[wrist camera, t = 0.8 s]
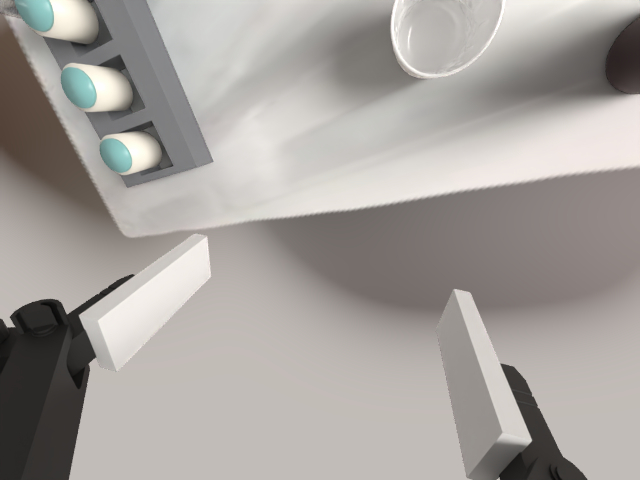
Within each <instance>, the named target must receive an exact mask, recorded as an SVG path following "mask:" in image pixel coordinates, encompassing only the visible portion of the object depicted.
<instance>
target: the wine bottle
mask: <svg viewBox="0 0 640 480" xmlns="http://www.w3.org/2000/svg"><path fill="white" fill-rule="evenodd" d="M606 75H607V78H608V80H609V82H610V83H611V85H612V86H614V87H615V88H616V89H618V90H620V91H623V92H625V93H630V94H640V17H639V18H638V19H636V20H635V21H634V22H633V23H631V24H630V25H629V26H628V27H627V28H626V29H625V30H624V31H623V32H622V33H621V34H620V35H619V37H618V38H617V39H616V40H615V42H614V44H613V45H612V47H611V49H610V51H609V54H608V57H607V61H606Z"/></svg>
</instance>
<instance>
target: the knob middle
mask: <svg viewBox="0 0 640 480" xmlns="http://www.w3.org/2000/svg"><path fill="white" fill-rule="evenodd" d="M61 84H62V88H63V90H64V92H65V94H66V96H67V97H68V99H69V100H70V101H71V102H72V103H73V104H74V105H75V106H76V107H77V108H79V109H80V110H82V111H85V112H102V111H124V110H127V109H128V108H130V106H131V105H132V102H133V92H132V88H131V85H130V83H129V81H128V80H127V78H126V77H125V76H124V74H123V73H121V72H120V71H119V70H117V69H115V68H111V67H103V66H94V65H86V64H77V63H69V64H67V65H66V66H65V67H64V68H63V70H62V74H61Z"/></svg>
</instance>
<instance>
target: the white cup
mask: <svg viewBox="0 0 640 480" xmlns="http://www.w3.org/2000/svg"><path fill="white" fill-rule="evenodd" d="M504 3H505V0H395V1H394V5H393V8H392V13H391V21H390V32H391V40H392V45H393V50H394V54H395V56H396V59H397V61H398V63H399V65H400V66H401V67H402V69H403V70H404V71H405V72H407V73H408V74H409V75H412V76H414V77H417V78H422V79H432V78H440V77H445V76H449V75H452V74H455V73H457V72H459V71H461V70H463V69H464V68H466V67H467V66H469V65H470V64H471V63H473V62H474V61H475V60H476V59H477V58H478V57H479V56H480V55H481V54H482V53H483V52H484V51H485V49H486V48H487V47H488V45H489V44H490V42H491V41H492V39H493V37H494V35H495V34H496V31H497V29H498V27H499V24H500V21H501V18H502V15H503V10H504Z"/></svg>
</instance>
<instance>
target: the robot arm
mask: <svg viewBox="0 0 640 480" xmlns="http://www.w3.org/2000/svg"><path fill="white" fill-rule="evenodd" d="M210 277H211V271H210V260H209V250H208V239H207V236H204V235H200V234H193V235H192V236H190V237H189V238H187V239H186V240H185V241H183V242H182V243H180V244H179V245H178V246H176V247H175V248H173V249H172V250H170V251H169V252H168V253H166V254H165V255H163V256H162V257H161V258H159V259H158V260H156V261H155V262H153V263H152V264H151V265H149V266H148V267H146V268H145V269H144V270H142V271H141V272H139V273H138V274H136V275H133V274H132V275H129V276H126V277H124V278H121V279H119V280H117V281H116V282H114V283H113V284H112V285H110V286H109V287H108V288H106V289H104V290H103V291H101V292H100V293H99V294H97V295H95V296H94V297H92V298H91V299H90V300H88V301H86V302H85V303H84V304H82V305H81V306H79V307H78V308H76V309H75V310H73V311H72V312H71V313H69V314H66V312H65V310H64V308H63V305H62V303H61V302H59V301H58V300H55V299H44V300H39V301H35V302H32V303H29V304H27V305H25V306H22V307H21V308H19V309H18V310H16V311H15V312H14V313H13V314H12V315H11V316H10V318H11V320H12V322H13V324H14V325H15V327H11V328H7V327H6V325H5V324H4V322H3V320H2V319H0V480H69V475H70V470H71V464H72V459H73V454H74V449H75V444H76V439H77V434H78V429H79V424H80V419H81V413H82V408H83V403H84V397H85V393H86V387H87V382H88V377H89V372H90V367H89V363H90V362H91V361H92V360H93V359H94V358H95V357H96V358H97V361H98V363H99V366H100V367H102V368H105V369H108V370H112V371H115V372H117V371H119V370H120V369H121V368H122V366H123V365H124V364H125V363H126V362H127V361H128V360H129V359H130V358H131V357H132V356H133V355H134V354H135V353H136V352H137V351H138V350H139V349H140V348H141V347H142V346H143V345H144V344H145V343H146V342H147V341H148V340H149V339H150V338H151V337H152V336H153V335H154V334H155V333H156V332H157V331H158V330H159V329H160V328H161V327H162V326H163V325H164V324H165V323H166V322H167V321H168V320H169V319H170V318H171V317H172V316H173V315H174V314H175V313H176V312H177V311H178V310H179V309H180V308H181V307H182V306H183V304H185V302H186V301H187V300H188V299H189V298H190V297H191V296H192V295H193V294H194V293H195V292H196V291H197V290H198V289H199V288H200V287H201V286H202V285H203V284H204V283H205V282H206V281H207V280H208V279H209V278H210ZM436 331H437V336H438V341H439V346H440V351H441V356H442V361H443V366H444V370H445V375H446V380H447V385H448V390H449V394H450V399H451V404H452V409H453V414H454V419H455V424H456V428H457V433H458V438H459V443H460V448H461V453H462V457H463V462H464V467H465V472H466V477H467V478H469V479H472V480H497V479H498V478H499V477H500V480H587V478H586V477H585V476H584V474H583V473H582V472H581V471H580V470H579V469H578V468H577V467H576V466H575V465H574V464H573V463H571V462H570V461H568V460H567V459H565V458H564V457H563V456H562V454H561V453H560V450H559V449H558V447H557V444H556V442H555V440H554V438H553V436H552V434H551V432H550V430H549V428H548V426H547V424H546V422H545V420H544V418H543V415H542V414H541V411H540V409H539V408H538V407H537V406H538V405H537V403H536V401H535V399H534V397H532V393H531V391H530V389H529V387H528V384H527V383H526V380H525V379H524V378H523V377H522V376H521V374H520V373H519V372H518V371H517V370H516V369H515V368H514V367H513V366H509V365H505V364H500V363H499V360H498V358H497V356H496V353H495V351H494V348H493V346H492V343H491V341H490V339H489V337H488V334H487V332H486V329H485V327H484V325H483V322H482V320H481V317H480V315H479V313H478V310H477V308H476V305H475V303H474V301H473V298H472V296H471V294H470V292H466V291H461V290H456V289H453V292H452V294H451V296H450V299H449V301H448V303H447V305H446V308H445V310H444V312H443V315H442V317H441V319H440V322H439V324H438V326H437V328H436Z"/></svg>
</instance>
